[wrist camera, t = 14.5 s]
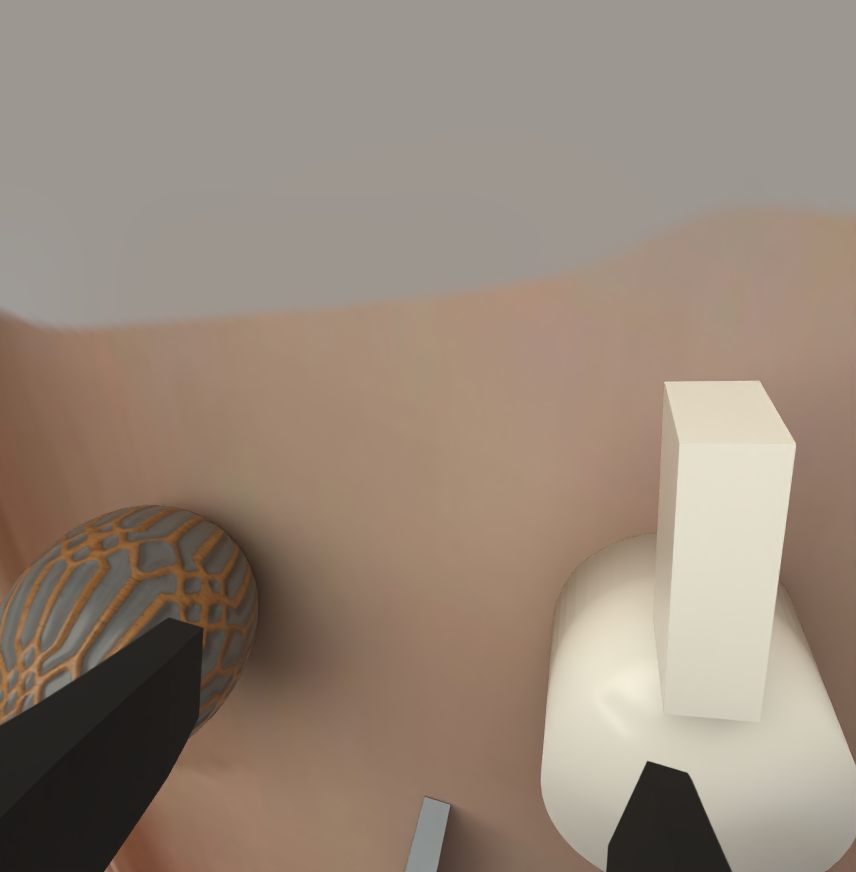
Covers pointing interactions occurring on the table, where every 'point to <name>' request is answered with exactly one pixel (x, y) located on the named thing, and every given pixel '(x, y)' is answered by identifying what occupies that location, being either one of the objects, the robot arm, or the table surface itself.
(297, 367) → the table surface
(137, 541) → the vase
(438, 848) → the holder
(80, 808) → the robot arm
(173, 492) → the table surface
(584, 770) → the cream egg with arms
